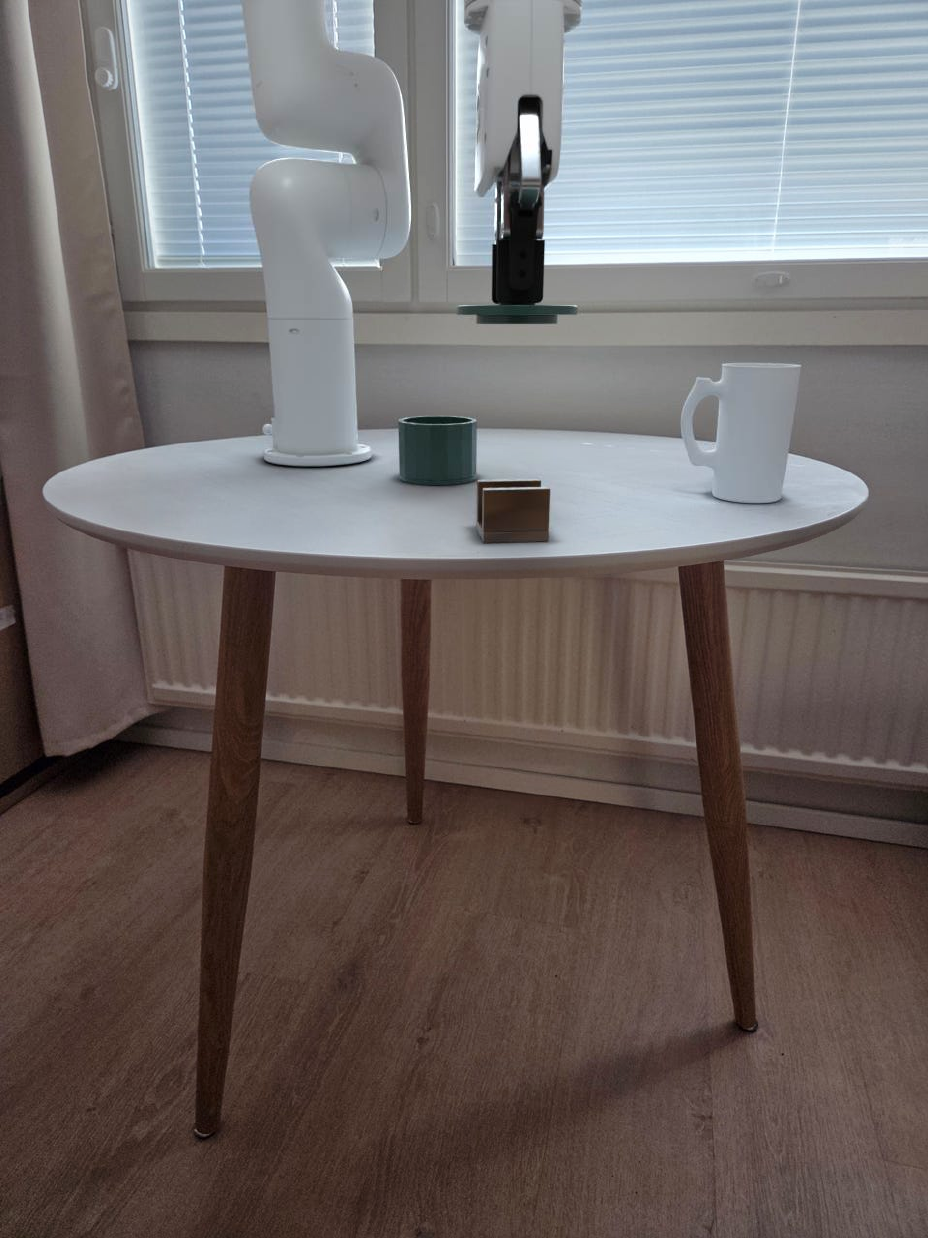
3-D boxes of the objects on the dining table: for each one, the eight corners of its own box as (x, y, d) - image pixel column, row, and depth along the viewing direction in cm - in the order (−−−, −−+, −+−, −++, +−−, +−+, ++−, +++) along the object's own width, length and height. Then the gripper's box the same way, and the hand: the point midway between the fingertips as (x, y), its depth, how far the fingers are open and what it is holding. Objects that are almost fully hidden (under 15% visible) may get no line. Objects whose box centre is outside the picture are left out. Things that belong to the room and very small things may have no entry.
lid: (460, 323, 56) (460, 213, 54) (453, 323, 64) (453, 227, 62) (587, 324, 57) (592, 214, 54) (565, 323, 65) (569, 227, 62)
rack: (483, 543, 63) (484, 490, 62) (476, 529, 67) (476, 479, 66) (548, 541, 64) (550, 488, 62) (537, 527, 68) (539, 478, 67)
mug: (774, 490, 82) (790, 362, 78) (792, 505, 76) (811, 367, 72) (669, 488, 83) (680, 362, 79) (679, 502, 77) (691, 366, 73)
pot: (399, 485, 85) (397, 424, 83) (400, 471, 92) (398, 415, 90) (478, 484, 85) (479, 424, 83) (473, 471, 93) (473, 415, 90)
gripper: (457, 35, 61) (457, 305, 67) (473, -60, 46) (472, 301, 52) (559, 37, 62) (550, 305, 68) (609, -56, 46) (591, 301, 53)
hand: (516, 300), depth 60 cm, fingers closed on lid, 2 cm apart
